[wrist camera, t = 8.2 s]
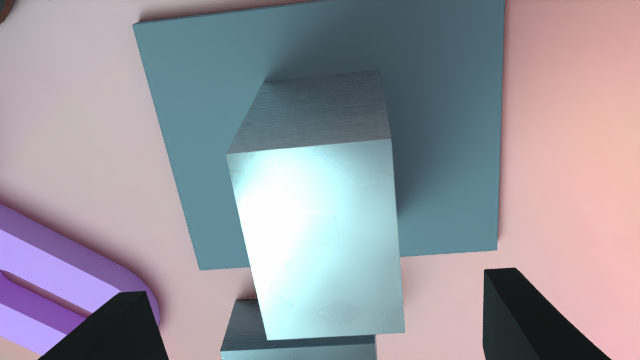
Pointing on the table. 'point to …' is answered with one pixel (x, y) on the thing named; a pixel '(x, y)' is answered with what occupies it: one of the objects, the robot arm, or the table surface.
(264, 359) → the vise jaws
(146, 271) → the table surface
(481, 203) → the slate mat
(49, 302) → the bracket
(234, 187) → the steel block
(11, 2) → the supplement bottle
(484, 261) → the table surface
